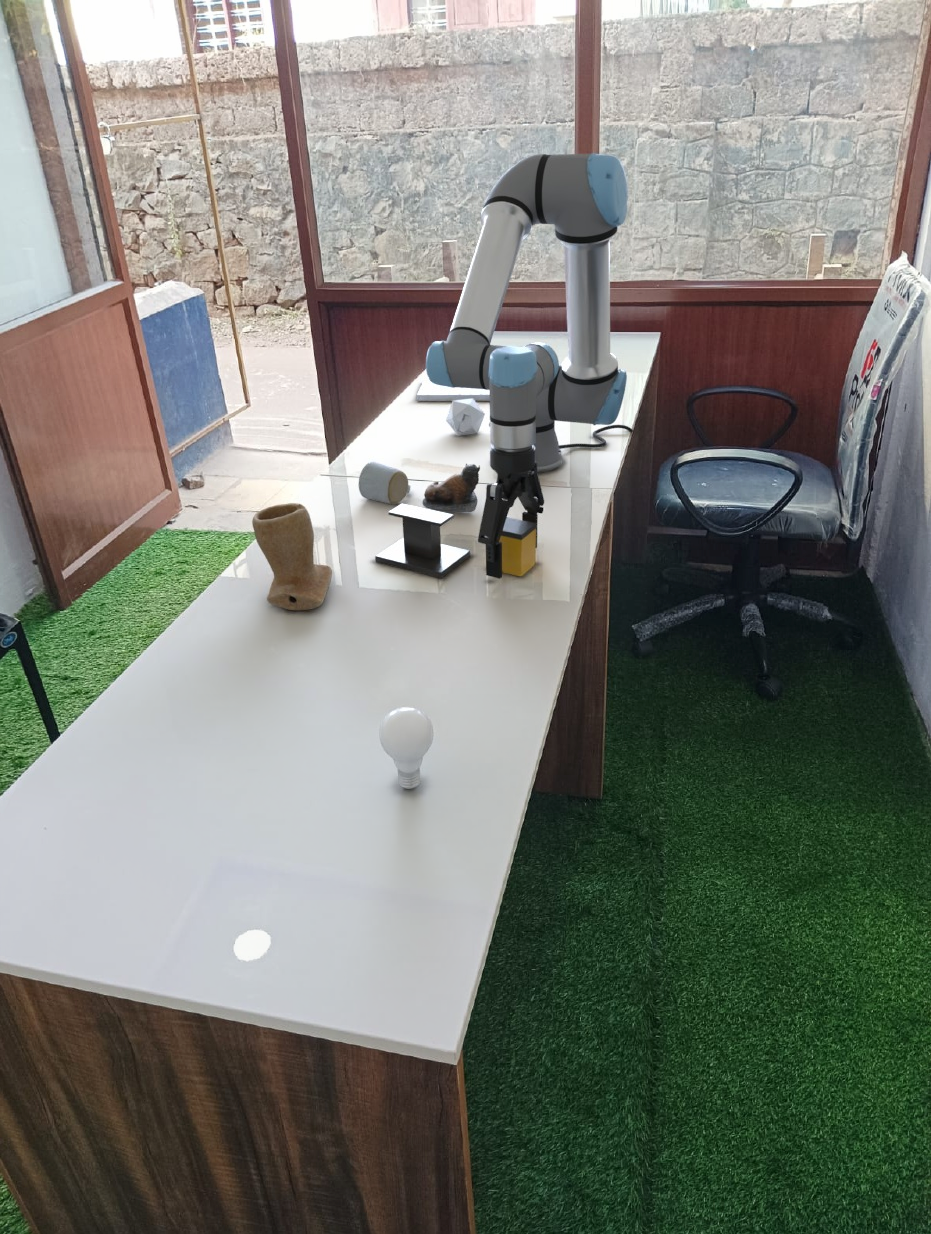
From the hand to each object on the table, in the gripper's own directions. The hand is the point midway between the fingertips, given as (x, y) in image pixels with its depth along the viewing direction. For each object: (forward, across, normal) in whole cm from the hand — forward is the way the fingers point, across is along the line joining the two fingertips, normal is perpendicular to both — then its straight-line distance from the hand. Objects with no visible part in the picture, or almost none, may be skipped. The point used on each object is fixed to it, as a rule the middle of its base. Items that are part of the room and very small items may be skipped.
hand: (512, 561), depth 162 cm
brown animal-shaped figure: (+1, -17, -23) cm, 28 cm away
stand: (+1, +5, -16) cm, 16 cm away
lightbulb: (+1, +58, +17) cm, 61 cm away
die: (+1, -60, -45) cm, 75 cm away
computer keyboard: (+1, -95, -56) cm, 110 cm away
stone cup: (+1, +26, -28) cm, 38 cm away
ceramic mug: (+1, -16, -38) cm, 41 cm away
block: (+1, 0, 0) cm, 1 cm away
